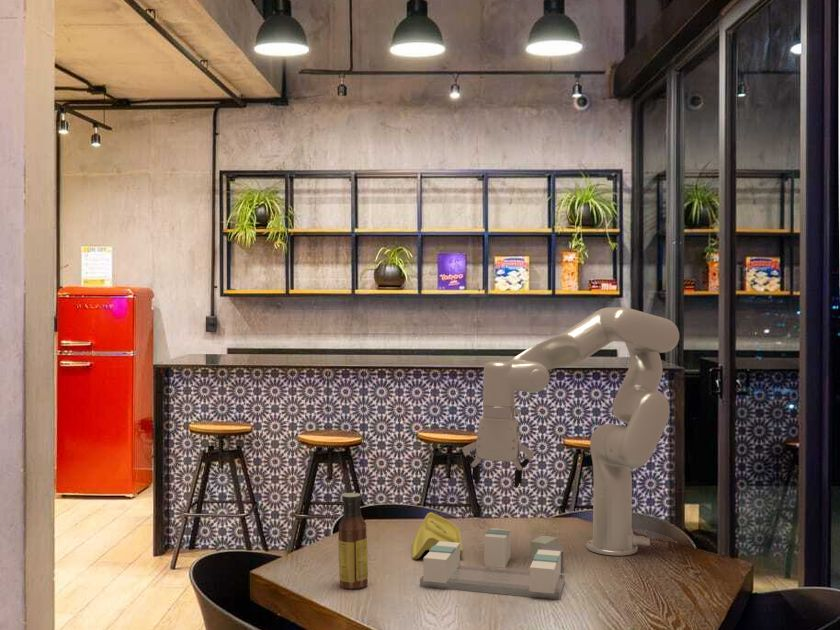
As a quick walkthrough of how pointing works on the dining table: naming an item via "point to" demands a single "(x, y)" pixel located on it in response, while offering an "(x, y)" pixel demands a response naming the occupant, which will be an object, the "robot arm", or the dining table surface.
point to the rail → (494, 582)
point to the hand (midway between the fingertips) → (497, 484)
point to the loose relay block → (553, 548)
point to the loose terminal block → (541, 540)
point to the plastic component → (434, 534)
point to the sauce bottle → (352, 544)
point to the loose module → (497, 547)
